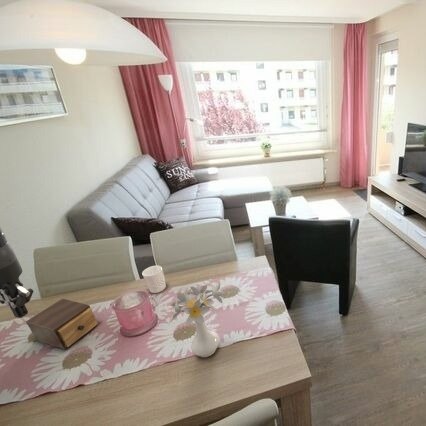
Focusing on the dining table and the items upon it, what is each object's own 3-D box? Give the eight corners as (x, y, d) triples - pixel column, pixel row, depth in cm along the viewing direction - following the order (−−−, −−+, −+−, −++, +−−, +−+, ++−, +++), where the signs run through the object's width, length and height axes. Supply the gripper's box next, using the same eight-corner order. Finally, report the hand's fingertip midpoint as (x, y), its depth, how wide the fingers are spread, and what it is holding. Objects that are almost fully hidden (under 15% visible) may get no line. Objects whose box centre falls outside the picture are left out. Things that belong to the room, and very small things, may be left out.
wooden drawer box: (98, 323, 116) (89, 305, 112) (64, 349, 105) (53, 330, 101) (71, 316, 120) (62, 298, 116) (37, 340, 109) (25, 321, 105)
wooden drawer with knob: (100, 324, 114) (93, 309, 111) (70, 348, 104) (61, 332, 101) (73, 317, 118) (65, 302, 115) (42, 339, 108) (32, 323, 105)
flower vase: (239, 334, 108) (228, 280, 98) (202, 377, 93) (184, 318, 83) (212, 324, 113) (199, 271, 103) (173, 363, 98) (152, 305, 88)
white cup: (164, 280, 139) (159, 263, 135) (169, 288, 134) (163, 270, 130) (146, 288, 135) (140, 270, 131) (150, 296, 129) (144, 278, 125)
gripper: (33, 258, 74) (56, 310, 82) (-8, 250, 77) (18, 301, 84) (-2, 275, 68) (26, 330, 75) (-46, 266, 70) (-14, 320, 77)
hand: (22, 315), depth 79 cm, fingers closed
